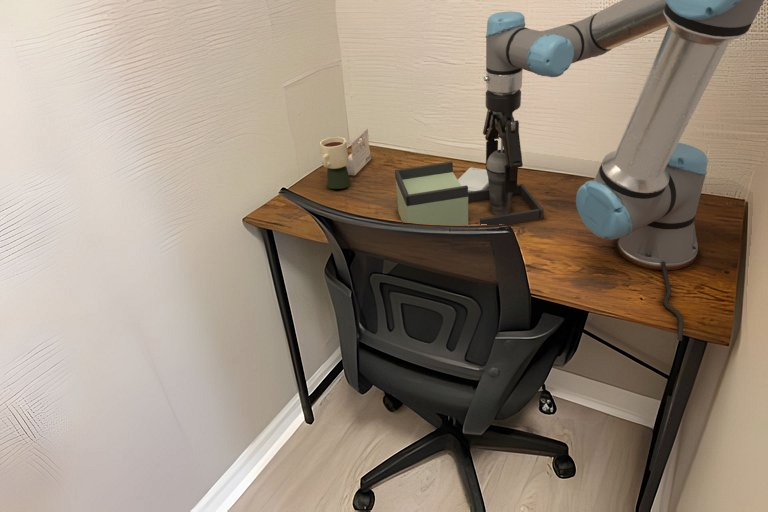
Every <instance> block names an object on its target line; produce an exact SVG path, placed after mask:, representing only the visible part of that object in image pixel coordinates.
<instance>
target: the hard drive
mask: <svg viewBox="0 0 768 512" xmlns="http://www.w3.org/2000/svg"><path fill="white" fill-rule="evenodd" d="M457 180H458V181H459V183H460V185H461V186H468V192H472V191H479V190H485V189H489V182H488V175H487V170H486V168H485V169H484V168H479V167H472V166H471V167H469V168H468V169H467V170H466V171H465V172H464V173H463V174H461V176H460V177H459V178H457Z"/></svg>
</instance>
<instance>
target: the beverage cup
mask: <svg viewBox="0 0 768 512" xmlns="http://www.w3.org/2000/svg"><path fill="white" fill-rule="evenodd" d="M504 165H507V163H506V158H505V153H504V148H503V143H502V139H501V138H500V149H498V150H497V151H494V152H493V153H492V154H491V155H490V156H489V158H488V161H487V165H486V164H485V170H487V175H488V182H489V187H488V189H489V194H490V199H489V204H490V211H491V213H492V214H494V215H496V216H498V215H504V214H510V212H511V206H512V200H513V195H512V194H513V192H509V193H505V192H504V180H505V168H504Z"/></svg>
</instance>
